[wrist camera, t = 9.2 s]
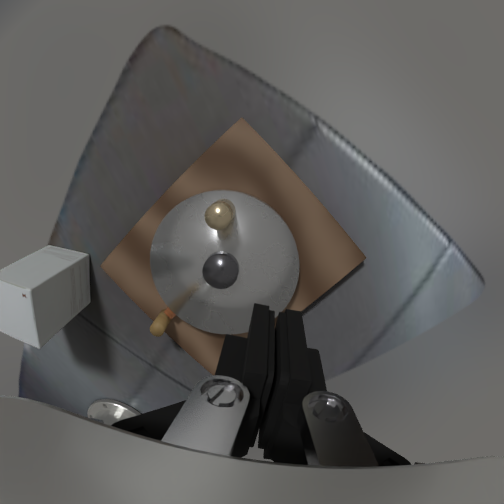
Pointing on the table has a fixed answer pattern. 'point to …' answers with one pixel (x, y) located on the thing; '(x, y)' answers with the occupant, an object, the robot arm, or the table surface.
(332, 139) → the table surface
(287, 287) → the flange plate
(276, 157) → the base board
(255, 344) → the robot arm
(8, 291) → the supplement box
